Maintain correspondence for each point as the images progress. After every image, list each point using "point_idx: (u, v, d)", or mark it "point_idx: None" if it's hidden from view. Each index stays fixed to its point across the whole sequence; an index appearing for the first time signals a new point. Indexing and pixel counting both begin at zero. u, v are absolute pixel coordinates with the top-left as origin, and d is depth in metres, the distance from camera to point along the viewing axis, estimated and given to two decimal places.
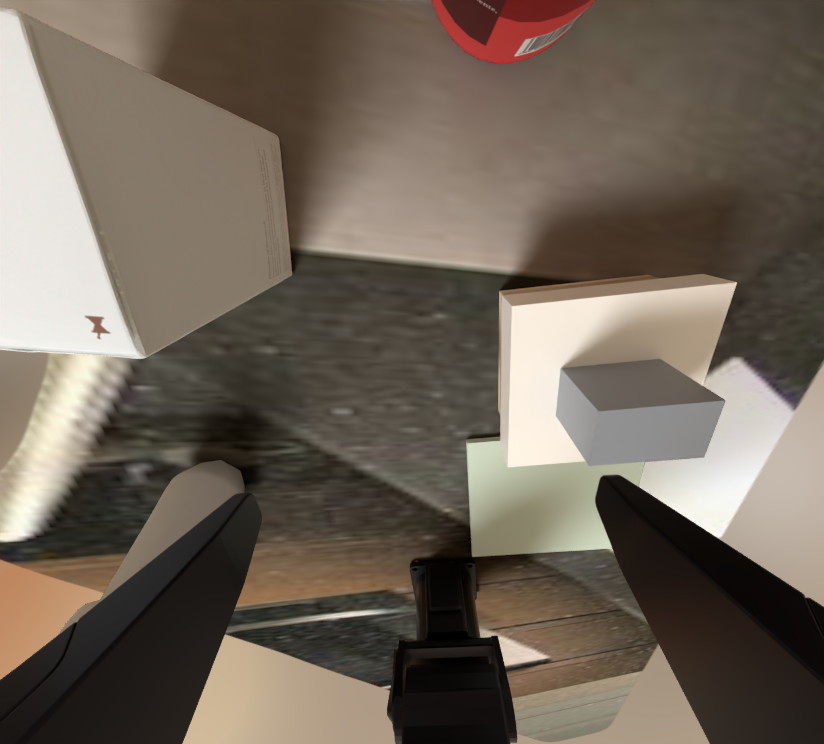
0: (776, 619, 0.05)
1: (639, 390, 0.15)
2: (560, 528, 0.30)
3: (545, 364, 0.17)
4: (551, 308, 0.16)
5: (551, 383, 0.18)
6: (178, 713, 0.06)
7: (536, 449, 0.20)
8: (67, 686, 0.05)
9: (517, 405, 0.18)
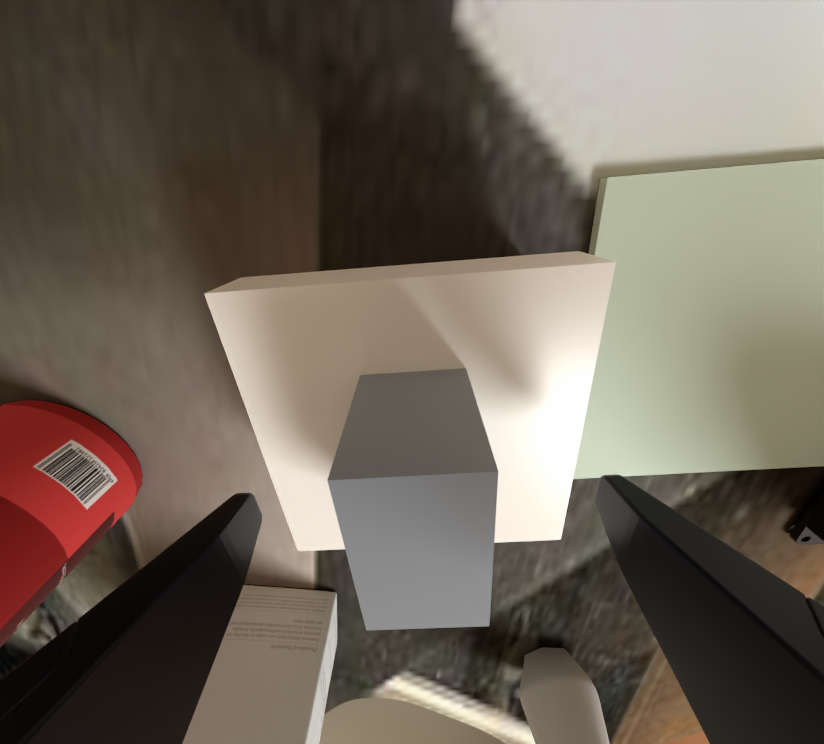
0: (776, 619, 0.05)
1: None
2: None
3: None
4: (294, 518, 0.12)
5: None
6: (178, 713, 0.06)
7: (531, 510, 0.12)
8: (67, 686, 0.05)
9: None
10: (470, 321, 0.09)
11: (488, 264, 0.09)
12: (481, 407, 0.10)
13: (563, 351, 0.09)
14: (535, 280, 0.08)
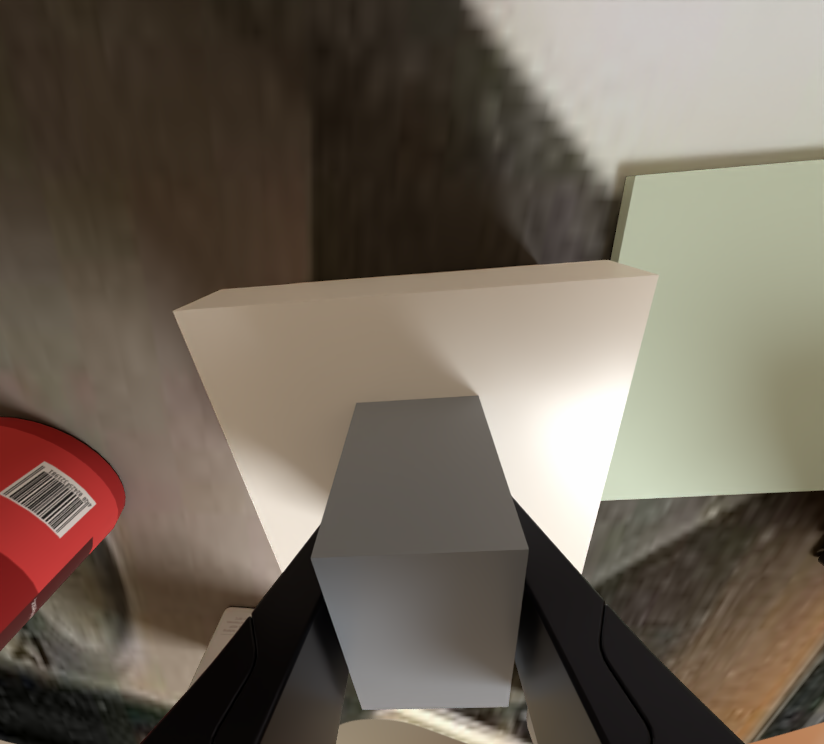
0: (564, 626, 0.05)
1: None
2: None
3: None
4: (284, 555, 0.11)
5: None
6: (334, 710, 0.06)
7: None
8: (270, 681, 0.04)
9: None
10: (484, 342, 0.07)
11: (505, 276, 0.08)
12: (495, 438, 0.09)
13: (591, 377, 0.08)
14: (562, 296, 0.07)
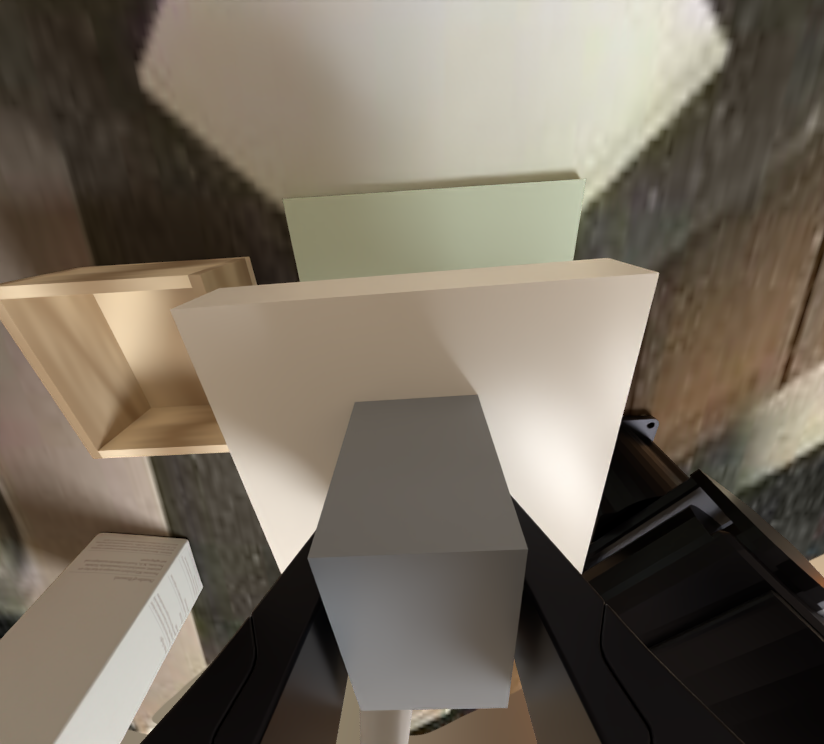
0: (563, 625, 0.05)
1: None
2: None
3: None
4: (283, 555, 0.11)
5: None
6: (334, 710, 0.06)
7: None
8: (270, 681, 0.05)
9: None
10: (483, 341, 0.07)
11: (504, 274, 0.08)
12: (495, 437, 0.09)
13: (590, 376, 0.08)
14: (562, 294, 0.07)
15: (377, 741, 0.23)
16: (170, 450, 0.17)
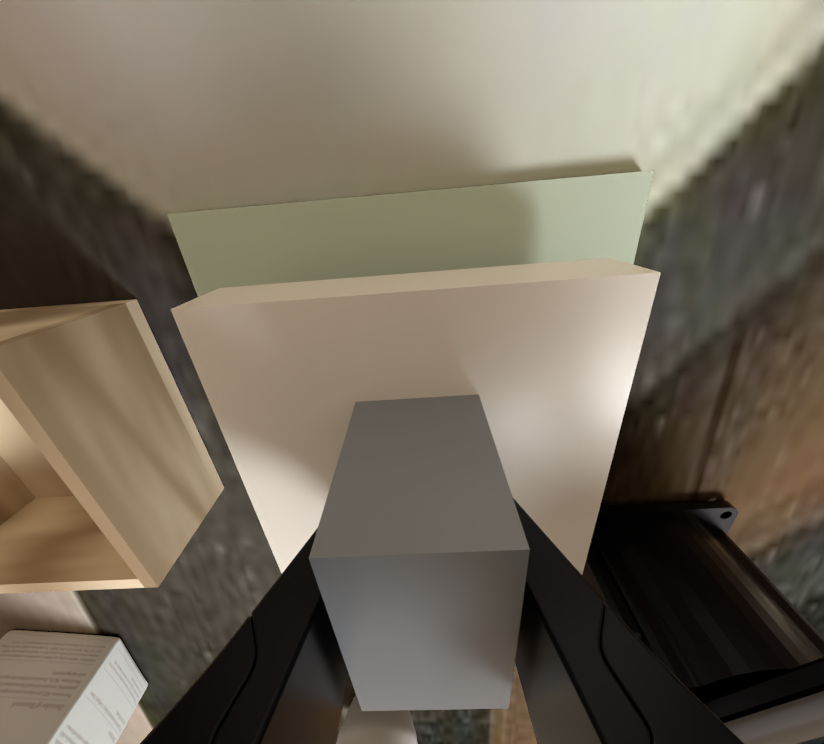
0: (563, 626, 0.05)
1: None
2: None
3: None
4: (283, 555, 0.11)
5: None
6: (334, 710, 0.06)
7: None
8: (270, 681, 0.04)
9: None
10: (484, 341, 0.07)
11: (505, 274, 0.08)
12: (495, 437, 0.09)
13: (592, 375, 0.08)
14: (563, 294, 0.07)
15: None
16: (24, 587, 0.12)
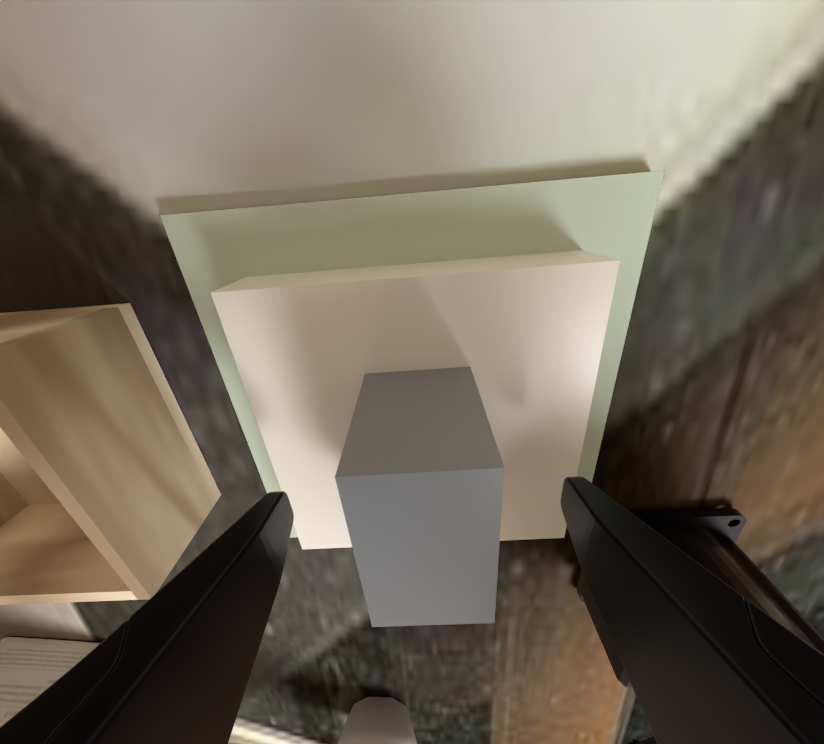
0: (711, 621, 0.05)
1: None
2: None
3: None
4: (299, 516, 0.12)
5: None
6: (224, 712, 0.06)
7: (534, 509, 0.12)
8: (126, 685, 0.05)
9: None
10: (474, 319, 0.09)
11: (492, 263, 0.09)
12: (485, 405, 0.10)
13: (566, 350, 0.09)
14: (539, 279, 0.08)
15: None
16: (14, 599, 0.11)
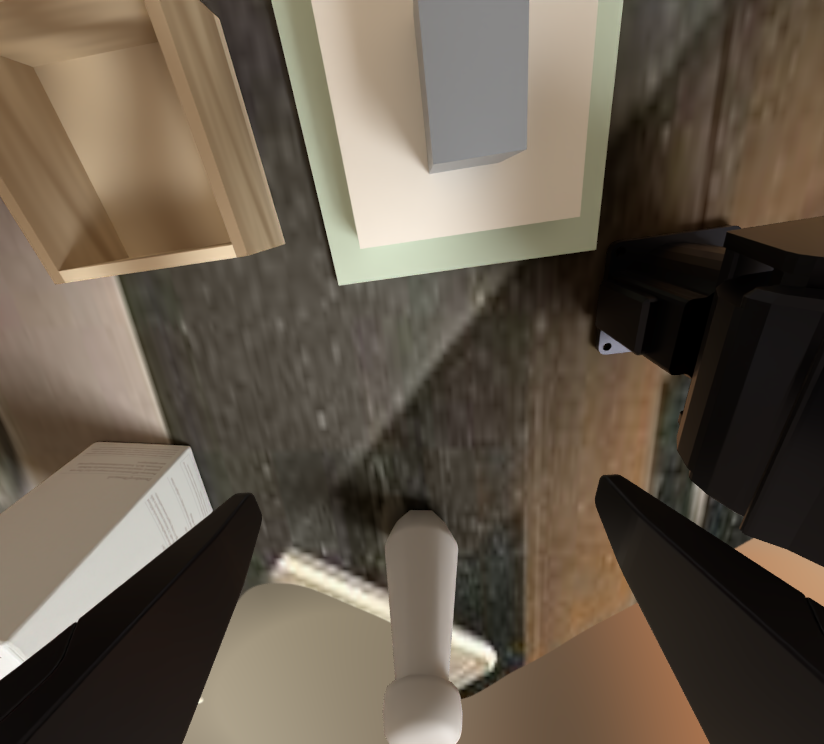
0: (776, 619, 0.05)
1: (423, 83, 0.11)
2: None
3: (424, 195, 0.15)
4: (358, 204, 0.15)
5: (449, 181, 0.14)
6: (178, 713, 0.06)
7: (553, 178, 0.14)
8: (67, 686, 0.05)
9: (479, 220, 0.15)
10: None
11: None
12: None
13: None
14: None
15: (413, 651, 0.19)
16: (140, 264, 0.14)
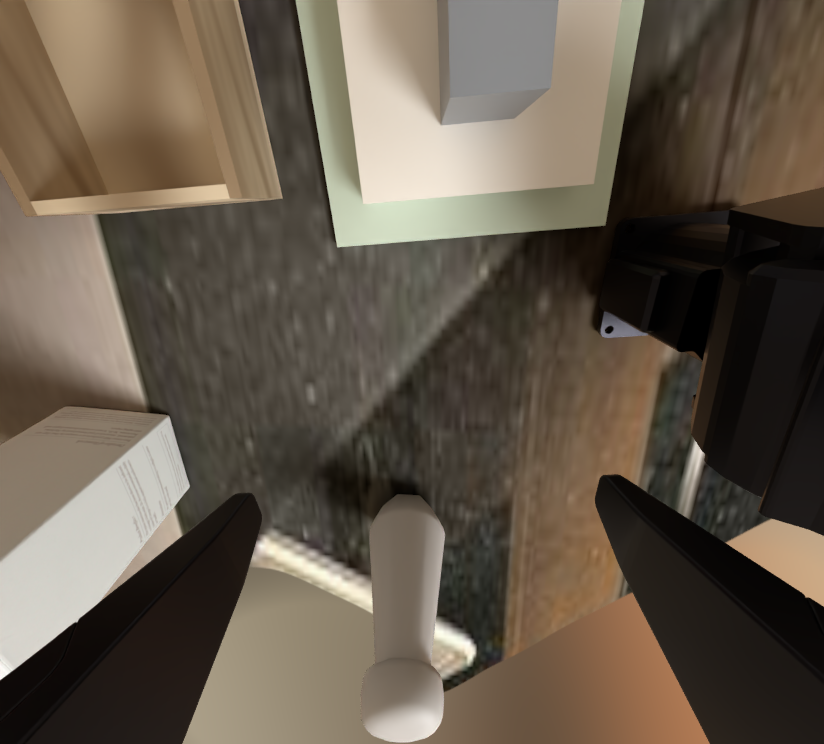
0: (776, 619, 0.05)
1: (444, 10, 0.10)
2: None
3: (434, 149, 0.14)
4: (364, 153, 0.14)
5: (461, 134, 0.14)
6: (178, 713, 0.06)
7: (569, 140, 0.14)
8: (67, 686, 0.05)
9: (490, 181, 0.14)
10: None
11: None
12: None
13: None
14: None
15: (395, 634, 0.18)
16: (123, 199, 0.13)
